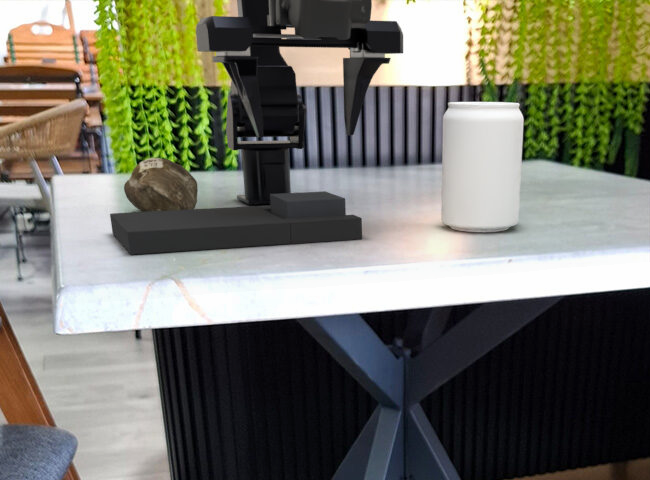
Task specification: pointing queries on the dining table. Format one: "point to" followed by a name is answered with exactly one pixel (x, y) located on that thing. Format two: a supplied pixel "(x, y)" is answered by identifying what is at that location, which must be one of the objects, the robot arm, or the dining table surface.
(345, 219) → the u-shaped holder
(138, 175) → the fossilized seashell
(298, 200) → the pad
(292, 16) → the robot arm
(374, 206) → the dining table surface
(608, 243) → the dining table surface
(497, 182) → the beverage can
